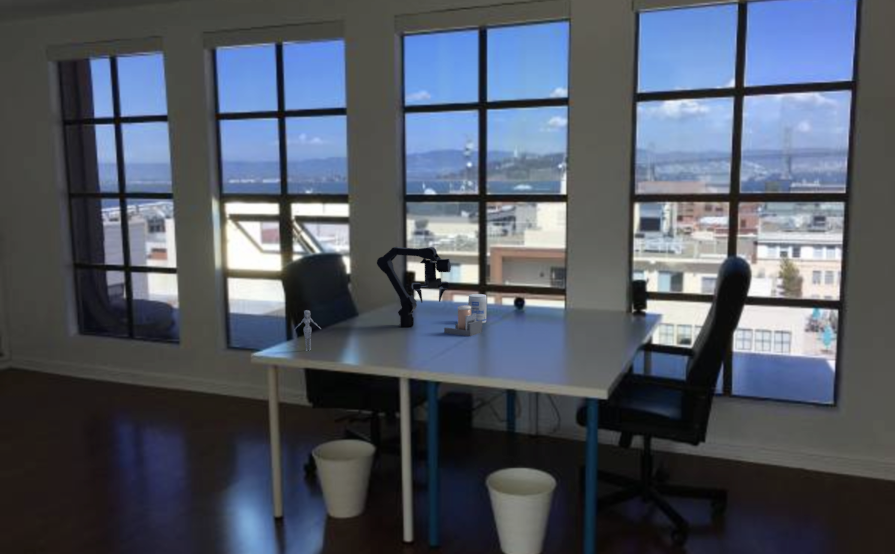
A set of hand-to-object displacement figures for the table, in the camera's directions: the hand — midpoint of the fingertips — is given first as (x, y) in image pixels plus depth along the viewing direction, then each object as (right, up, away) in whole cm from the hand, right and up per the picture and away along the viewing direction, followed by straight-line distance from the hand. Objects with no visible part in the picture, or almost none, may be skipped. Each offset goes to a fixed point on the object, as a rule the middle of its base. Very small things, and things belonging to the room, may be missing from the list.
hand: (430, 302), depth 361 cm
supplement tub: (+24, -11, +13) cm, 30 cm away
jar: (+17, -14, -15) cm, 27 cm away
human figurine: (-54, -20, -45) cm, 73 cm away
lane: (+17, -15, -14) cm, 26 cm away
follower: (+20, -15, -16) cm, 30 cm away
